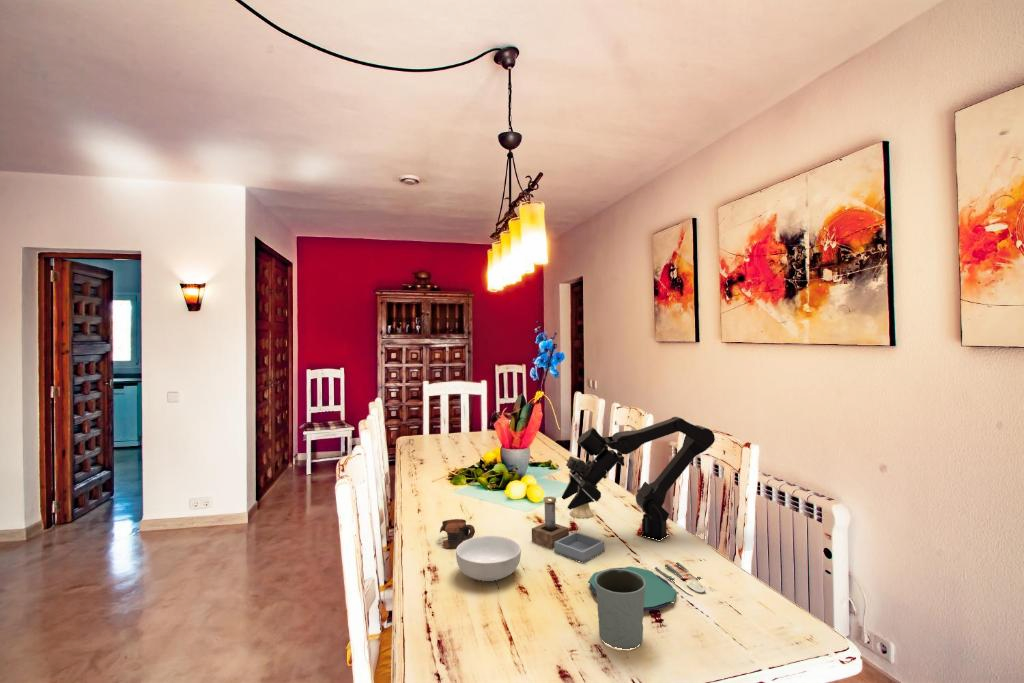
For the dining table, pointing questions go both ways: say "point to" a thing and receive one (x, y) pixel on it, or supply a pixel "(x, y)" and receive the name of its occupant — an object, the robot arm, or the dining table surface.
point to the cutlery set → (651, 587)
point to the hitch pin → (550, 513)
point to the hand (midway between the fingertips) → (565, 503)
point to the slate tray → (579, 547)
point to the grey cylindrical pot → (620, 607)
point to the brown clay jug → (456, 532)
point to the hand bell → (582, 511)
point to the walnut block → (548, 535)
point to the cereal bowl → (488, 557)
